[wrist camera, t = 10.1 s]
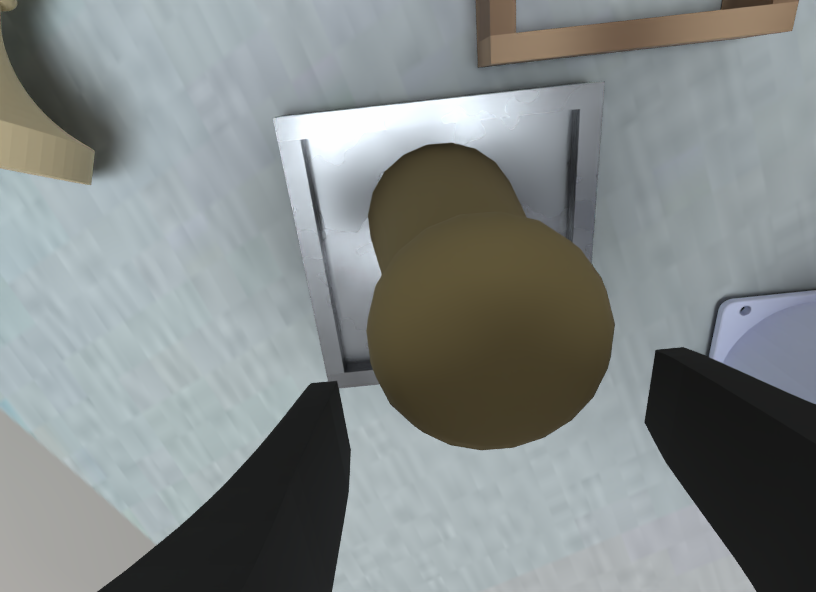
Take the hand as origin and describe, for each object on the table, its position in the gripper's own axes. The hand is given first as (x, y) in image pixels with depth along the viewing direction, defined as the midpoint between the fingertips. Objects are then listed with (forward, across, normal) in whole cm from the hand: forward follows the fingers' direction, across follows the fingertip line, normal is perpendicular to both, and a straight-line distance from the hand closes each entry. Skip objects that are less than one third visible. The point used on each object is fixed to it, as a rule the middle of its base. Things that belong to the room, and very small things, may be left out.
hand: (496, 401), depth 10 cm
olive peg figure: (+10, 0, -2) cm, 10 cm away
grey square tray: (+10, 0, 0) cm, 10 cm away
